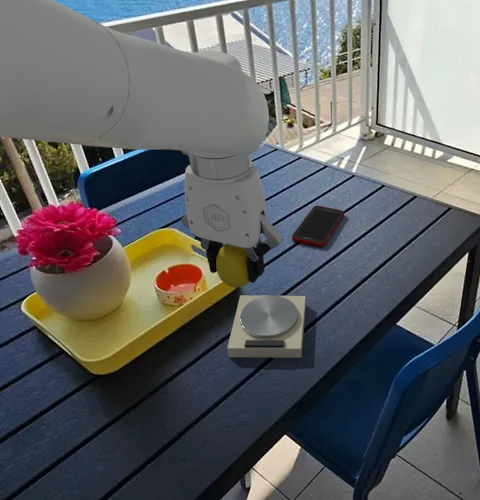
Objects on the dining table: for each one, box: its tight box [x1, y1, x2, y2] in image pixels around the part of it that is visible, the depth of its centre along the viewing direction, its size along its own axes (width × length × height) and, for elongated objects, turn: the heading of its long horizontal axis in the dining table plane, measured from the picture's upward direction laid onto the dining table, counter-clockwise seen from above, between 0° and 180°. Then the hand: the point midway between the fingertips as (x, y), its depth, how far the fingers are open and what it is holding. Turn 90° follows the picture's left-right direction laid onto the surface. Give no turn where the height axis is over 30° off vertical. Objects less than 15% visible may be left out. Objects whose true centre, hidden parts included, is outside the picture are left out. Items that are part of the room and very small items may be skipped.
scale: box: [227, 294, 307, 359], centre depth 87 cm, size 13×12×3 cm
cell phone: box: [291, 205, 345, 248], centre depth 114 cm, size 8×15×1 cm, turn 162°
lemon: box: [216, 243, 251, 289], centre depth 72 cm, size 6×6×8 cm
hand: (236, 271), depth 73 cm, fingers closed on lemon, 5 cm apart
